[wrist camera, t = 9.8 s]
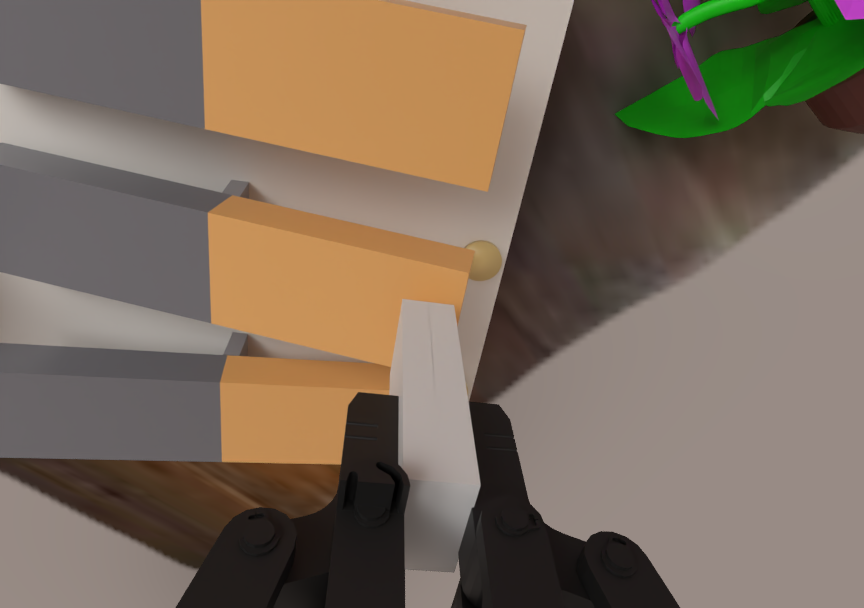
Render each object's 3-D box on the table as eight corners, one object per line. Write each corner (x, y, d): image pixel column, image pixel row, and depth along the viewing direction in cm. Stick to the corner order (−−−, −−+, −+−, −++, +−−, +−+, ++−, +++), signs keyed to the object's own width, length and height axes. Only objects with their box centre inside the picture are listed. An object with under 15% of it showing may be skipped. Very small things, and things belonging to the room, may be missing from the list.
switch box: (69, 329, 30) (-19, 432, 24) (-18, -148, 20) (-213, -192, 14) (448, 369, 33) (459, 472, 26) (541, -37, 23) (596, -30, 16)
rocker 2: (12, 426, 23) (-9, 457, 21) (-11, 342, 20) (-36, 370, 19) (418, 438, 26) (422, 465, 24) (433, 366, 24) (439, 392, 22)
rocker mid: (25, 250, 21) (-11, 269, 20) (2, 142, 19) (-40, 155, 18) (451, 352, 20) (444, 380, 19) (475, 250, 18) (468, 272, 17)
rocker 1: (-15, 62, 18) (-62, 69, 17) (-48, -92, 16) (-104, -99, 15) (492, 174, 17) (487, 191, 16) (526, 25, 15) (524, 30, 14)
